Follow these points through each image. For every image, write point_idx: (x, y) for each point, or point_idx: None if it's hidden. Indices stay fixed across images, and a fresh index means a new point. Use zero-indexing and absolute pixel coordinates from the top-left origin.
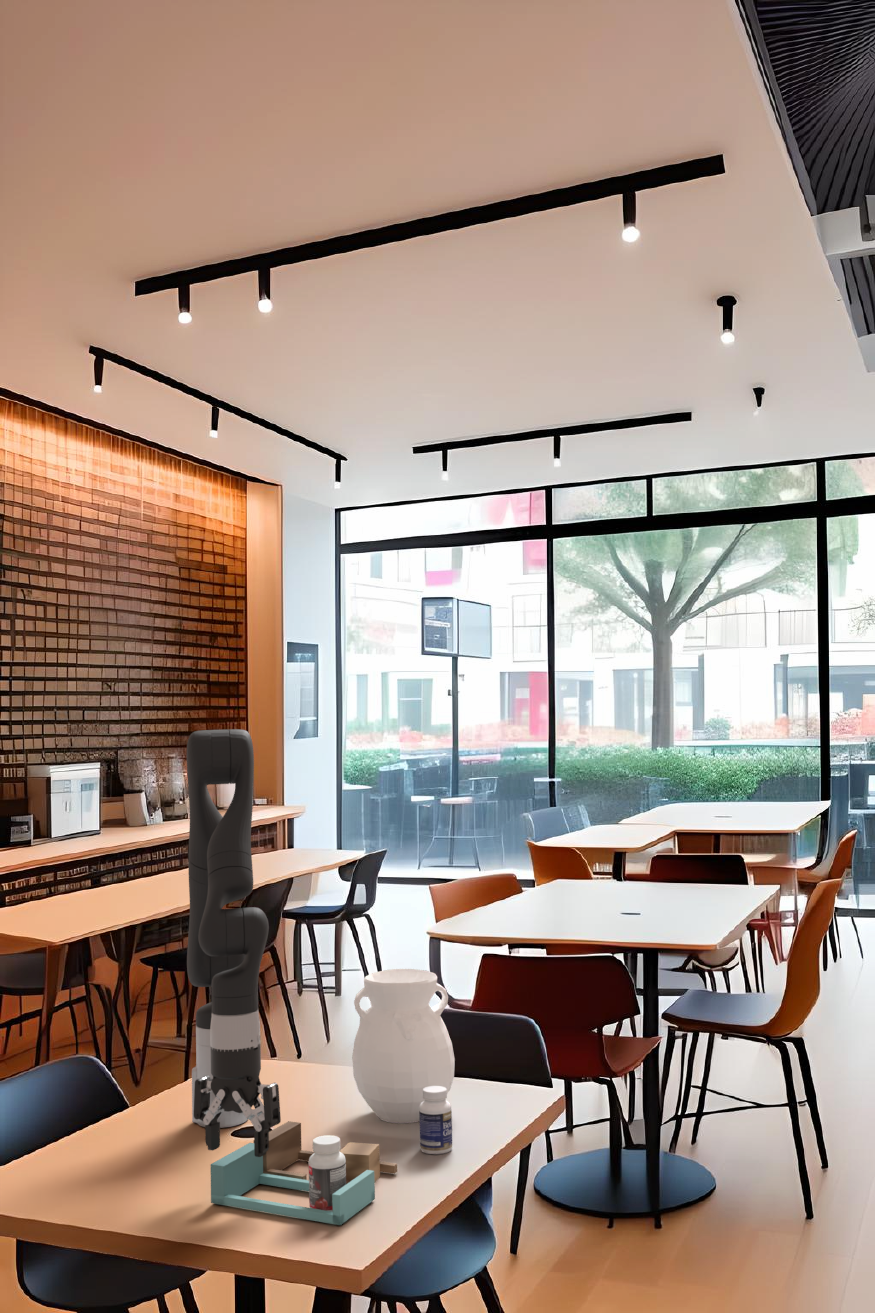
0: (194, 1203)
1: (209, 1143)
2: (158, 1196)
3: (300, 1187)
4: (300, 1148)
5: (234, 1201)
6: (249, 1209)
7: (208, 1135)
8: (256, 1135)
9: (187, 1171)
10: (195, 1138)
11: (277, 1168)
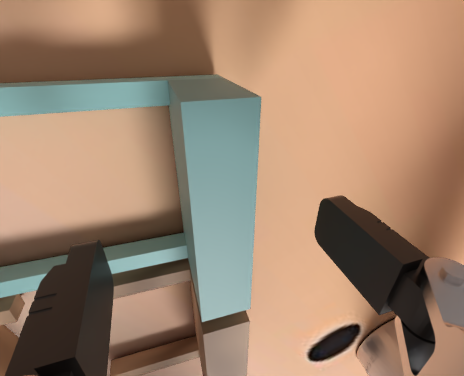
0: (269, 66)
1: (349, 208)
2: (379, 67)
3: (47, 263)
4: (200, 359)
5: (121, 81)
6: (54, 81)
7: (378, 228)
8: (58, 339)
9: (368, 206)
10: None
11: (191, 293)
